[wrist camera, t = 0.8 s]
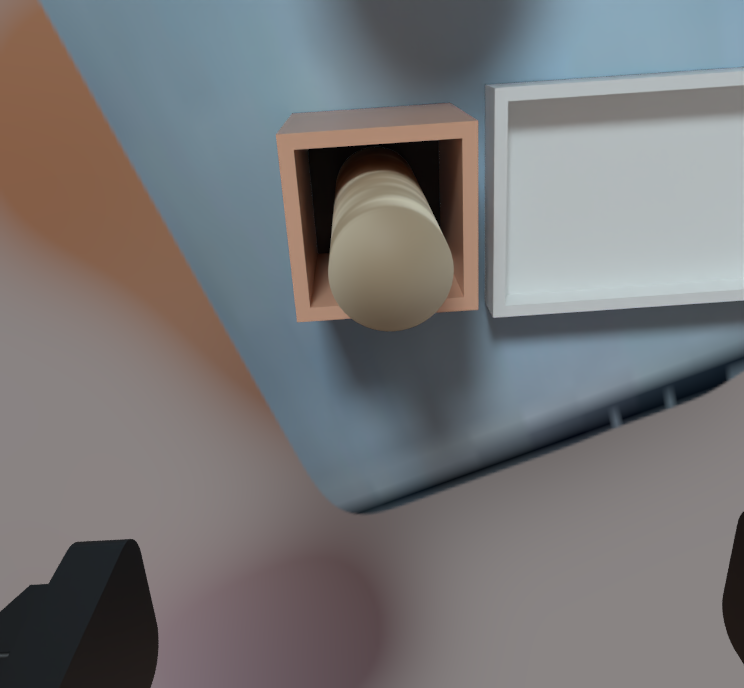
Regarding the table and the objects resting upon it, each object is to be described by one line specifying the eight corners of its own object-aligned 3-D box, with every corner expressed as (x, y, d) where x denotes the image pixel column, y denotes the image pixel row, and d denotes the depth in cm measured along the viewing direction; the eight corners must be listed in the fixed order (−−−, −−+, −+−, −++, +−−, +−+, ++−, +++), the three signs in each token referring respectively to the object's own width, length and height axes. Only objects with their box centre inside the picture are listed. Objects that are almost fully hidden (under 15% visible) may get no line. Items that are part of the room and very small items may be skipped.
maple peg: (413, 143, 34) (452, 206, 21) (416, 224, 36) (454, 327, 23) (332, 149, 34) (322, 215, 21) (339, 229, 36) (333, 335, 23)
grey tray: (798, 63, 33) (830, 64, 31) (761, 282, 38) (787, 297, 36) (485, 84, 33) (494, 88, 31) (484, 301, 38) (493, 317, 35)
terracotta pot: (449, 102, 34) (478, 120, 26) (452, 255, 37) (478, 309, 29) (291, 113, 34) (275, 134, 26) (307, 265, 37) (297, 322, 29)
